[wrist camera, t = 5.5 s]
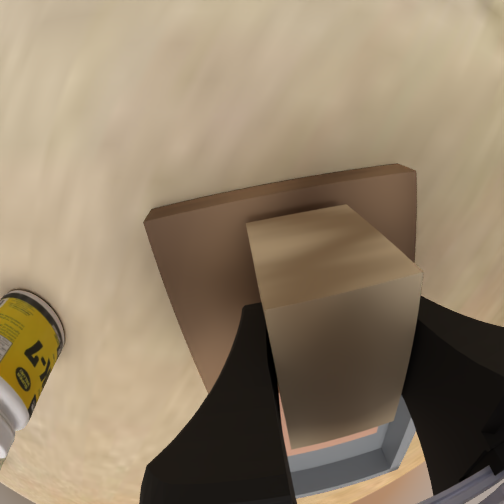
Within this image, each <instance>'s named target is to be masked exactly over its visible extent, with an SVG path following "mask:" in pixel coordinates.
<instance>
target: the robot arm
mask: <svg viewBox="0 0 504 504" xmlns="http://www.w3.org/2000/svg"><path fill="white" fill-rule="evenodd" d="M401 395H402V397H403V399H404V401H405V403H406V406H407V408H408V411H409V413H410V416H411V418H412V421H413V423H414V426H415V429H416V432H417V435H418V437H419V440H420V443H421V447H422V450H423V453H424V457H425V460H426V464H427V468H428V472H429V476H430V480H431V485H432V490H433V495H434V496H433V497H431V498H428V499H426V500H424V501H422V502H420V503H418V504H464V503H466V502H468V501H469V500H471V499H473V498H475V497H476V496H478V495H479V494H481V493H483V492H484V491H486V490H487V489H489V488H491V487H492V486H494V485H495V484H497V483H498V482H499V481H501V480H502V479H504V327H500V326H496V325H493V324H489V323H485V322H482V321H479V320H476V319H473V318H470V317H467V316H464V315H462V314H459V313H457V312H454V311H452V310H449V309H447V308H445V307H443V306H441V305H438V304H436V303H434V302H432V301H430V300H428V299H426V298H424V297H422V296H420V304H419V310H418V317H417V323H416V329H415V334H414V340H413V345H412V350H411V355H410V359H409V364H408V368H407V373H406V377H405V381H404V385H403V389H402V393H401ZM139 504H297V502H296V497H295V492H294V487H293V482H292V477H291V472H290V467H289V462H288V457H287V452H286V447H285V442H284V437H283V431H282V423H281V413H280V402H279V391H278V381H277V376H276V371H275V366H274V361H273V356H272V351H271V346H270V341H269V336H268V331H267V325H266V320H265V316H264V311H263V306H262V302H259V303H254V304H249V305H245V306H244V307H243V308H242V313H241V319H240V323H239V327H238V330H237V333H236V336H235V339H234V342H233V345H232V348H231V350H230V353H229V355H228V357H227V360H226V362H225V364H224V367H223V369H222V371H221V373H220V375H219V377H218V379H217V380H216V382H215V384H214V386H213V387H212V389H211V391H210V393H209V394H208V396H207V397H206V399H205V400H204V402H203V403H202V405H201V406H200V408H199V409H198V411H197V412H196V413H195V415H194V416H193V417H192V419H191V420H190V421H189V422H188V423H187V425H186V426H185V427H184V428H183V429H182V431H181V432H180V433H179V434H178V435H177V436H176V438H175V439H174V440H173V441H172V442H171V443H170V444H169V445H168V446H167V447H166V448H165V449H164V450H163V451H162V452H161V453H160V454H159V455H158V456H156V457H155V458H154V459H153V460H152V461H151V462H150V463H149V464H148V465H147V466H146V470H145V474H144V477H143V481H142V485H141V492H140V503H139ZM479 504H504V483H503V484H501V485H500V486H499V487H498V488H497V489H496V490H495V491H494V492H493V493H492V494H490V495H489V496H488V497H487V498H485V499H484V500H483V501H481V502H480V503H479Z"/></svg>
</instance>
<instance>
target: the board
mask: <svg viewBox="0 0 504 504" xmlns="http://www.w3.org/2000/svg"><path fill="white" fill-rule="evenodd" d="M345 204H347V205H348V206H349V207H350V208H352V209H353V210H354V211H355V212H356V213H358V214H359V215H360V216H361V217H362V218H364V219H365V220H366V221H367V222H368V223H370V224H371V225H372V226H373V227H374V228H375V229H377V230H378V231H379V232H380V233H381V234H382V235H384V236H385V237H386V238H387V239H388V240H389V241H390V242H391V243H393V244H394V245H395V246H396V247H397V248H398V249H399V250H400V251H402V252H403V253H404V254H405V255H406V256H407V257H408V258H409V259H410V260H411V261H412V262H414V260H415V244H416V218H417V178H416V171H415V170H412V169H410V168H407V167H405V166H402V165H400V164H391V165H383V166H376V167H368V168H361V169H354V170H347V171H341V172H334V173H328V174H322V175H315V176H309V177H304V178H298V179H292V180H286V181H281V182H275V183H270V184H265V185H260V186H254V187H249V188H244V189H239V190H234V191H230V192H225V193H220V194H215V195H211V196H206V197H202V198H197V199H193V200H188V201H184V202H180V203H175V204H171V205H167V206H163V207H159V208H155V209H152V210H151V211H150V213H149V214H148V216H147V217H146V219H145V220H144V222H143V223H144V226H145V229H146V232H147V235H148V238H149V242H150V245H151V248H152V251H153V254H154V257H155V260H156V263H157V266H158V268H159V271H160V274H161V277H162V280H163V283H164V285H165V288H166V291H167V294H168V296H169V299H170V302H171V304H172V307H173V310H174V312H175V315H176V318H177V320H178V323H179V325H180V328H181V330H182V333H183V335H184V338H185V340H186V343H187V345H188V348H189V350H190V352H191V355H192V357H193V360H194V362H195V364H196V367H197V369H198V371H199V374H200V376H201V378H202V380H203V383H204V385H205V387H206V389H207V392H208V394H209V393H210V391H211V389H212V387H213V386H214V384H215V382H216V380H217V379H218V377H219V375H220V373H221V371H222V369H223V367H224V364H225V362H226V360H227V357H228V355H229V353H230V350H231V348H232V345H233V342H234V339H235V336H236V333H237V330H238V327H239V323H240V319H241V313H242V308H243V307H244V306H245V305H249V304H254V303H259V302H261V298H260V293H259V288H258V283H257V278H256V273H255V268H254V263H253V258H252V253H251V248H250V243H249V238H248V233H247V228H246V223H249V222H254V221H260V220H265V219H270V218H275V217H280V216H285V215H291V214H296V213H301V212H307V211H312V210H317V209H323V208H328V207H334V206H340V205H345Z"/></svg>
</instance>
